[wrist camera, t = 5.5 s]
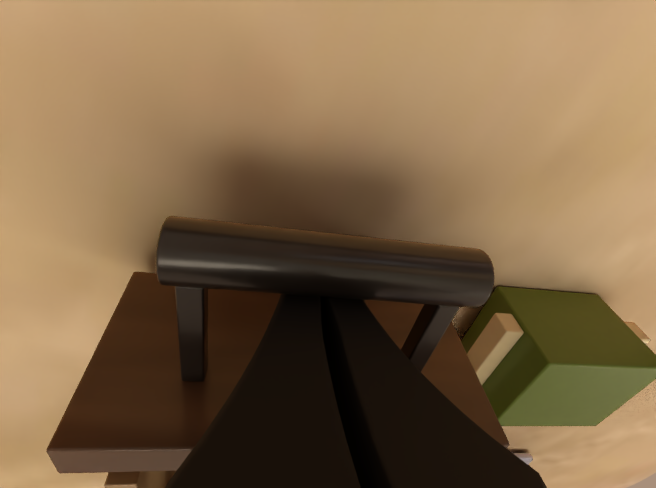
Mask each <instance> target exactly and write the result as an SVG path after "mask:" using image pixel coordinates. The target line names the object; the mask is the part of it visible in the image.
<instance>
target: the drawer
mask: <svg viewBox="0 0 656 488" xmlns="http://www.w3.org/2000/svg"><path fill="white" fill-rule="evenodd" d="M493 286H494V268H493V264H492V261H491V259H490V258H489V256H488V255H487V254H486V253H485V252H484V251H482V250H480V249H474V248H465V247H455V246H446V245H437V244H428V243H418V242H409V241H400V240H390V239H381V238H372V237H363V236H353V235H344V234H335V233H325V232H316V231H307V230H298V229H288V228H279V227H270V226H260V225H251V224H242V223H233V222H223V221H214V220H205V219H195V218H186V217H177V216H169V217H167V218H166V219H165V221H164V223H163V225H162V228H161V231H160V234H159V238H158V244H157V251H156V273H146V272H134V273H133V275H132V277H131V279H130V281H129V283H128V285H127V287H126V289H125V291H124V293H123V295H122V297H121V299H120V301H119V303H118V305H117V307H116V309H115V311H114V313H113V315H112V317H111V319H110V322H109V324H108V326H107V328H106V330H105V332H104V334H103V336H102V338H101V340H100V342H99V344H98V346H97V348H96V350H95V352H94V354H93V356H92V358H91V360H90V362H89V364H88V366H87V368H86V370H85V372H84V375H83V377H82V379H81V381H80V383H79V385H78V387H77V389H76V391H75V393H74V395H73V397H72V399H71V401H70V403H69V405H68V407H67V409H66V411H65V413H64V415H63V417H62V419H61V421H60V423H59V425H58V428H57V430H56V432H55V434H54V436H53V438H52V440H51V442H50V444H49V446H48V448H47V453H48V455H49V457H50V459H51V460H52V462H53V464H54V466H55V467H56V469H57V471H58V472H59V473H95V472H109V473H108V476H107V479H106V482H105V484H104V486H105V488H165V487H166V485H167V483H168V482H169V480H170V479H171V477H172V476H173V475H174V473H175V472H176V471H177V469H178V468H179V467H180V465H181V464H182V463H183V461H184V460H185V459H186V457H187V456H188V455H189V453H190V452H191V451H192V449H193V448H194V447H195V445H196V444H197V443H198V441H199V440H200V439H201V437H202V436H203V434H204V433H205V432H206V430H207V429H208V427H209V426H210V424H211V423H212V421H213V420H214V418H215V417H216V415H217V414H218V412H219V411H220V409H221V408H222V406H223V405H224V403H225V402H226V400H227V399H228V397H229V396H230V394H231V393H232V391H233V389H234V388H235V386H236V385H237V383H238V381H239V380H240V378H241V376H242V374H243V373H244V371H245V369H246V368H247V366H248V364H249V362H250V361H251V359H252V357H253V355H254V353H255V351H256V349H257V348H258V346H259V344H260V342H261V340H262V338H263V336H264V334H265V332H266V329H267V327H268V325H269V323H270V320H271V318H272V316H273V313H274V311H275V309H276V306H277V304H278V301H279V298H280V295H281V294H291V295H305V296H319V297H333V298H347V299H361V300H364V302H365V303H366V305H367V306H368V307H369V309H370V310H371V312H372V313H373V315H374V316H375V318H376V319H377V320H378V322H379V323H380V324H381V326H382V327H383V328H384V330H385V331H386V332H387V334H388V335H389V336H390V337H391V339H392V340H393V341H394V342H395V344H396V345H397V346H398V347H399V348H400V350H401V351H402V352H403V353H404V354H405V355H406V356H407V358H408V359H409V360H410V361H411V362H412V363H413V364H414V365H415V367H416V368H417V369H418V370H419V371H420V372H421V373H422V374H423V375H424V376H425V377H426V378H427V379H428V380H429V381H430V382H431V383H432V384H433V385H434V386H435V387H436V388H437V389H438V390H439V391H440V392H442V393H443V394H444V395H445V396H446V397H447V398H448V399H449V400H450V401H451V402H452V403H453V404H454V405H455V406H456V407H457V408H459V409H460V410H461V411H462V412H463V413H464V414H465V415H466V416H468V417H469V418H470V419H471V420H472V421H473V422H475V423H476V424H477V425H478V426H479V427H480V428H482V429H483V430H484V431H485V432H486V433H488V434H489V435H490V436H491V437H492V438H494V439H495V440H496V441H498V442H499V443H500V444H501V445H503V446H504V447H505V448H507V447H508V446H509V442H508V440H507V437H506V435H505V433H504V431H503V429H502V427H501V425H500V423H499V421H498V418H497V416H496V414H495V412H494V410H493V408H492V406H491V404H490V402H489V399H488V397H487V395H486V393H485V391H484V389H483V387H482V385H481V383H480V381H479V378H478V376H477V374H476V372H475V370H474V368H473V366H472V364H471V362H470V359H469V357H468V355H467V353H466V351H465V349H464V347H463V345H462V343H461V340H460V338H459V336H458V334H457V332H456V330H455V328H454V326H453V324H452V320H453V318H454V316H455V315H456V313H457V311H458V310H459V307H473V308H475V307H479V306H481V305H483V304H484V303H485V302H486V301H487V300H488V299H489V297H490V295H491V293H492V290H493Z"/></svg>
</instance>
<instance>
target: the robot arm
mask: <svg viewBox="0 0 656 488" xmlns="http://www.w3.org/2000/svg"><path fill="white" fill-rule="evenodd" d="M532 460H533V457H532V455H531V454H530V453H512V452H511V451H509V450H508V449H507V448H505V447H504V446H503V445H501V444H500V443H499V442H498V441H496V440H495V439H494V438H492V437H491V436H490V435H489V434H488V433H486V432H485V431H484V430H483V429H482V428H480V427H479V426H478V425H477V424H476V423H475V422H473V421H472V420H471V419H470V418H469V417H468V416H466V415H465V414H464V413H463V412H462V411H461V410H460V409H459V408H457V407H456V406H455V405H454V404H453V403H452V402H451V401H450V400H449V399H448V398H447V397H446V396H445V395H444V394H443V393H442V392H440V391H439V390H438V389H437V388H436V387H435V386H434V385H433V384H432V383H431V382H430V381H429V380H428V379H427V378H426V377H425V376H424V375H423V374H422V373H421V372H420V371H419V370H418V369H417V368H416V367H415V365H414V364H413V363H412V362H411V361H410V360H409V359H408V358H407V356H406V355H405V354H404V353H403V352H402V351H401V350H400V348H399V347H398V346H397V345H396V344H395V342H394V341H393V340H392V339H391V337H390V336H389V335H388V334H387V332H386V331H385V330H384V328H383V327H382V326H381V324H380V323H379V322H378V320H377V319H376V318H375V316H374V315H373V313H372V312H371V310H370V309H369V307H368V306H367V305H366V303H365V302H364V300H361V299H347V298H333V297H319V296H305V295H291V294H281V295H280V298H279V301H278V304H277V306H276V309H275V311H274V313H273V316H272V318H271V320H270V323H269V325H268V327H267V329H266V332H265V334H264V336H263V338H262V340H261V342H260V344H259V346H258V348H257V349H256V351H255V353H254V355H253V357H252V359H251V361H250V362H249V364H248V366H247V368H246V369H245V371H244V373H243V374H242V376H241V378H240V380H239V381H238V383H237V385H236V386H235V388H234V389H233V391H232V393H231V394H230V396H229V397H228V399H227V400H226V402H225V403H224V405H223V406H222V408H221V409H220V411H219V412H218V414H217V415H216V417H215V418H214V420H213V421H212V423H211V424H210V426H209V427H208V429H207V430H206V432H205V433H204V434H203V436H202V437H201V439H200V440H199V441H198V443H197V444H196V445H195V447H194V448H193V449H192V451H191V452H190V453H189V455H188V456H187V457H186V459H185V460H184V461H183V463H182V464H181V465H180V467H179V468H178V469H177V471H176V472H175V473H174V475H173V476H172V477H171V479H170V480H169V482H168V483H167V485H166V487H165V488H547V487H546V485H545V484H544V482H543V480H542V478H541V477H540V475H539V473H538V472H537V471H535V470H534V469H533V468H531V467H530V466H529V465H528V464H529V463H530V462H531V461H532Z"/></svg>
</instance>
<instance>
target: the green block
mask: <svg viewBox="0 0 656 488" xmlns="http://www.w3.org/2000/svg"><path fill="white" fill-rule="evenodd" d="M648 342H650V338H649V337H648V336H647V335H646V334H645V333H644V332H643V331H642V330H641V329H640V328H639V327H638V326H637V325H636V324H635V323H633V322H624V321H623V320H622V319H621V318H620V317H619V316H618V315H617V314H616V313H615V312H614V311H613V310H612V309H611V308H610V307H609V306H608V305H607V304H606V303H605V302H604V301H603V300H602V299H601V298H600V296H598V295H596V294H584V293H573V292H561V291H550V290H538V289H526V288H515V287H503V286H497V287H496V289H495V290H494V292H493V293H492V295H491V296H490V298H489V299H488V301H487V302H486V304H485V305H484V307H483V309H482V310H481V312H480V313H479V315H478V316H477V318H476V319H475V321H474V322H473V324H472V325H471V327H470V328H469V330H468V331H467V333H466V334H465V336H464V338H463V339H462V341H461V343H462V345H463V347H464V349H465V351H466V353H467V355H468V357H469V359H470V362H471V364H472V366H473V368H474V370H475V372H476V374H477V376H478V378H479V381H480V383H481V385H482V387H483V389H484V391H485V393H486V395H487V397H488V399H489V402H490V404H491V406H492V408H493V410H494V412H495V414H496V416H497V418H498V421H499V423H500V425H501V426H596V425H597V424H599V423H600V422H601V421H603V420H604V419H605V418H606V417H608V416H609V415H610V414H612V413H613V412H614V411H615V410H617V409H618V408H619V407H620V406H622V405H623V404H624V403H626V402H627V401H628V400H629V399H631V398H632V397H633V396H635V395H636V394H637V393H638V392H640V391H641V390H642V389H643V388H645V387H646V386H647V385H649V384H650V383H651V382H652V381H654V380H655V379H656V355H655V354H654V353H653V352H652V351H651V350H650V349H649V348H648V346H647V345H646V344H647V343H648Z"/></svg>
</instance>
